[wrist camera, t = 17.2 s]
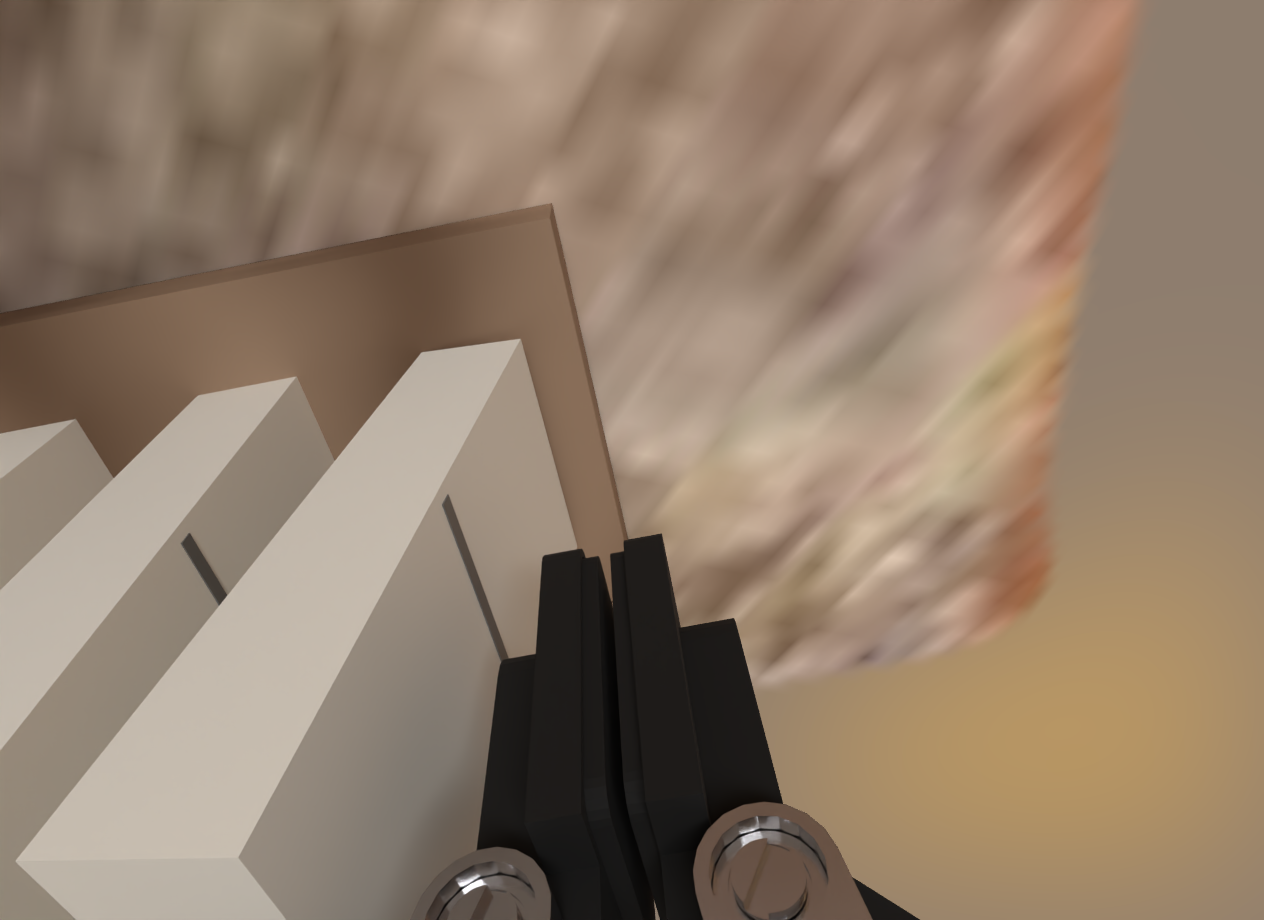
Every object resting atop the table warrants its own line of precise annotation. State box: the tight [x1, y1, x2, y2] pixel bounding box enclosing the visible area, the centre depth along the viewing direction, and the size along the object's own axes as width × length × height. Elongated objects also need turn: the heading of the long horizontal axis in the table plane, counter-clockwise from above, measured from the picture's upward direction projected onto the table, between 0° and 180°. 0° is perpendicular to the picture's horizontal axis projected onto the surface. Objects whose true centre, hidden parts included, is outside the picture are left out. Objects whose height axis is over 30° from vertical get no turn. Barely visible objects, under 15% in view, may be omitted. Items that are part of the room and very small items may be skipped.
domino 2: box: [15, 339, 577, 920], centre depth 11 cm, size 2×5×10 cm, turn 10°
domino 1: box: [0, 376, 334, 920], centre depth 12 cm, size 2×5×10 cm, turn 10°
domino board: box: [0, 203, 628, 601], centre depth 17 cm, size 23×9×1 cm, turn 100°
